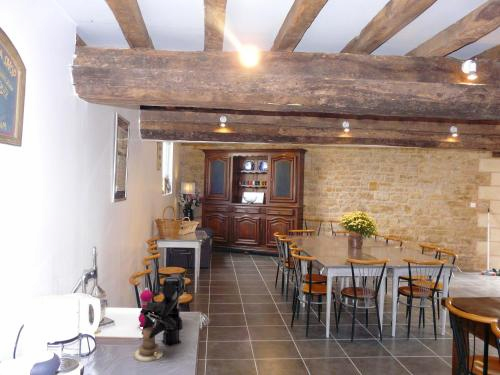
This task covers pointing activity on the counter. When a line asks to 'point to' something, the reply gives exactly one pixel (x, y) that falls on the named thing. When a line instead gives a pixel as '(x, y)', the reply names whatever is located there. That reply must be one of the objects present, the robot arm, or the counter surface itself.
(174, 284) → the robot arm
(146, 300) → the pepper mill
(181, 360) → the counter surface
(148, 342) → the brown flanged knob
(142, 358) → the plate
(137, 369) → the counter surface
